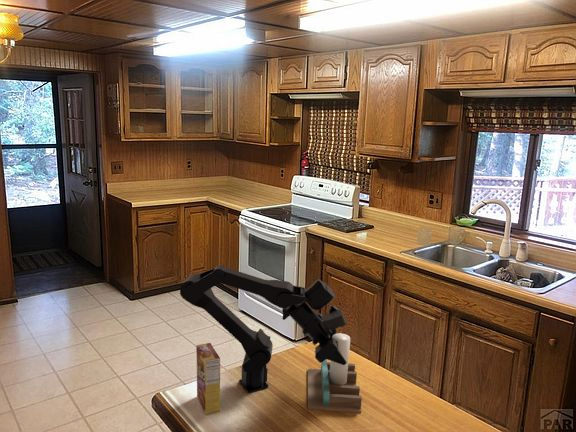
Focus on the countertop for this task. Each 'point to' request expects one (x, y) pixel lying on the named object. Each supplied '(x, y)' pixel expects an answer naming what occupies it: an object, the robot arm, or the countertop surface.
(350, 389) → the comb rack
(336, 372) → the white cylinder
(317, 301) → the robot arm
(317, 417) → the countertop surface
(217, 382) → the candy box
